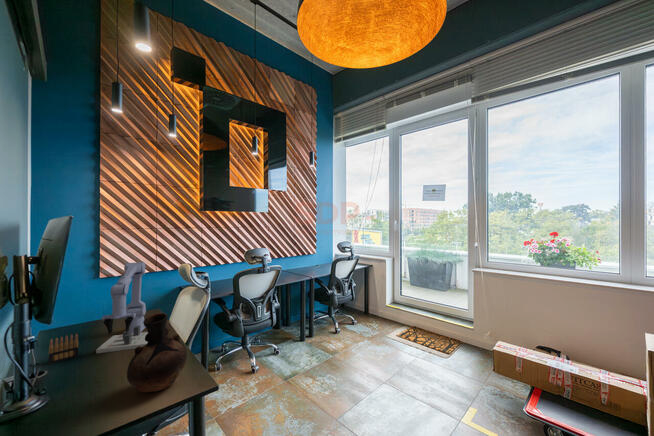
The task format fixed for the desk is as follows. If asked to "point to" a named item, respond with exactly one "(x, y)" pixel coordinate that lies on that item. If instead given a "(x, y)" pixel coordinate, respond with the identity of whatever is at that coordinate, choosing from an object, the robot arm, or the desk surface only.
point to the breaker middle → (125, 333)
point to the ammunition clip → (63, 349)
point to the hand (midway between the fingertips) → (118, 332)
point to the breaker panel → (122, 343)
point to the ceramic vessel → (157, 357)
